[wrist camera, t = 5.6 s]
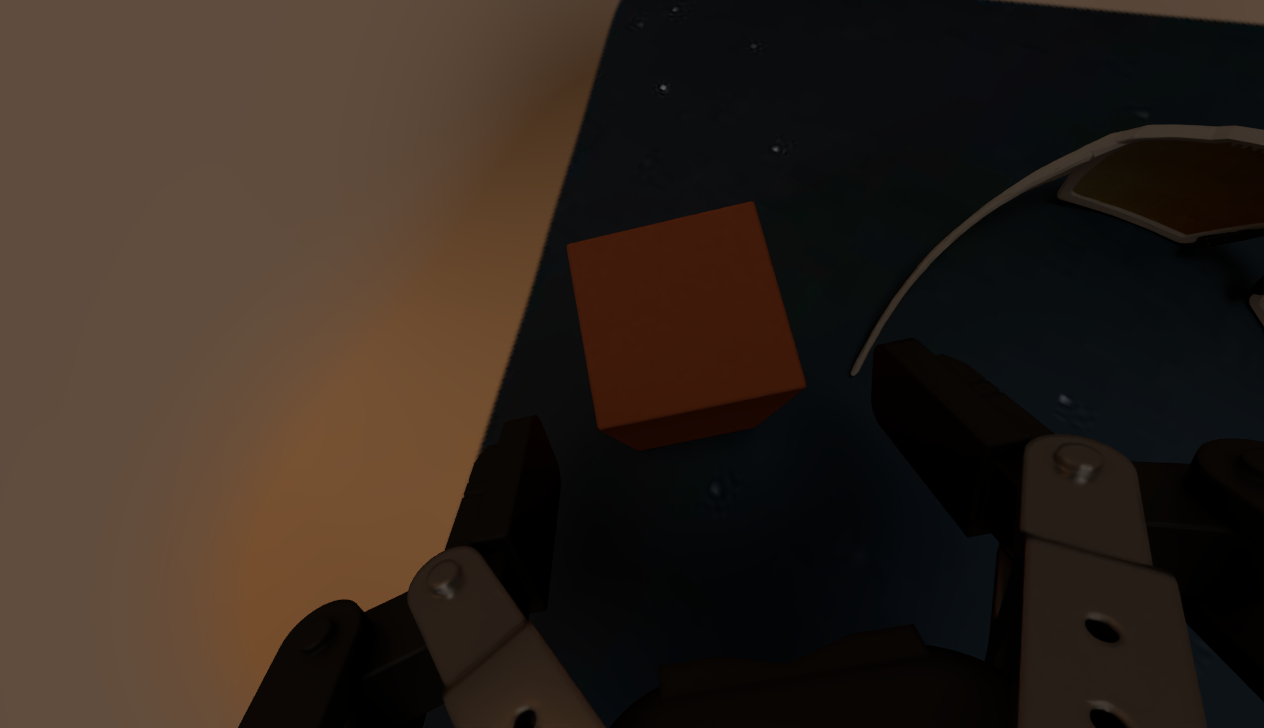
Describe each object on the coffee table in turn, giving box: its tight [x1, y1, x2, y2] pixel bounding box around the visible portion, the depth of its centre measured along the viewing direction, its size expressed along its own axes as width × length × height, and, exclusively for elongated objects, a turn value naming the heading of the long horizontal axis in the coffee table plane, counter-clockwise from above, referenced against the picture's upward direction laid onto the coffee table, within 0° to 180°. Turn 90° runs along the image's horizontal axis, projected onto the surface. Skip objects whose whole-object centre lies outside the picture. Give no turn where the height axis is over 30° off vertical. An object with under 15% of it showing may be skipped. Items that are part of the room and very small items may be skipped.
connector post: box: [567, 202, 806, 451], centre depth 16 cm, size 5×5×9 cm
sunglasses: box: [851, 125, 1264, 376], centre depth 17 cm, size 14×15×5 cm
